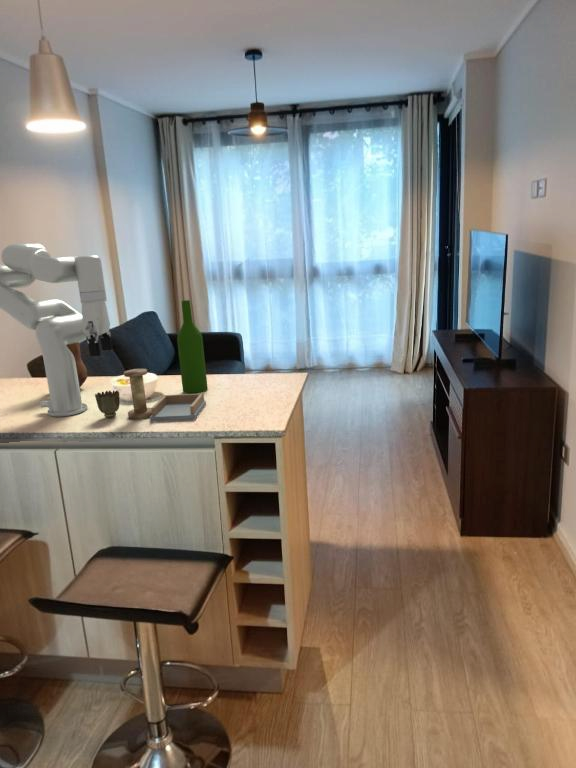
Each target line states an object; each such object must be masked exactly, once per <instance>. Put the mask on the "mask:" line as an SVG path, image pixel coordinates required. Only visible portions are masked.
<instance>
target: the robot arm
mask: <svg viewBox="0 0 576 768" xmlns="http://www.w3.org/2000/svg"><path fill="white" fill-rule="evenodd" d="M0 257H1V261H2V263H1V264H0V309H1V310H2V311H4V312H6V313H7V314H8V315H10V316H11V317H12V318H13V319H15V320H17V321H18V322H19V323H20V324H21V325H23V326H24V327H25V328H27V329H29V330H31V331H35V337H36V340H37V342H38V345H39V348H40V350H41V353H42V357H43V358H42V359H43V364H44V369H45V377H46V381H47V385H48V392H49V398H50V399H48V400H41V401H40V403H39V404H40V408H48V410H47V412H46V413H47V415H48V416H50V417H56V418H59V417H69V416H75V415H77V414H81V413H83V412H85V411H87V410H88V405H87V404H86V403H83V402H82V395H81V387H80V388H79V381H78V375H77V369H76V363H75V358H74V356H73V354H72V352H71V351H70V350H69V349H68V347H67V346H66V345H68V344H72V343H76V342H79V343H80V342H83V341H84V340H86V341H87V344H88V351H89V356H90V357H100V356H101V355H102V352H101V350H102V351H112V350H113V342H112V337H111V336H112V334H111V328H110V327H111V326H110V325H111V323H110V319H109V313H108V308H107V303H106V302H107V294H106V286H105V280H104V279H105V278H104V271H103V267H102V259H101V257H100V256H99V255H96V254H93V255H92V254H90V255H71V256H70V255H69V256H68V255H67V256H58V257H57V256H56V257H52V256H51V254H50V253H49V252H48V250H47V249H46V247H44V246H43V245H42V244H40V243H37V242H30V243H29V242H28V243H27V242H26V243H25V242H24V243H11V244H9V245H7V246H5V247H3V250H2V251H1V255H0ZM36 280H38V281H41V282H45V283H49V284H50V283H51V284H61V283H68V282H70V283H71V282H77V287H78V292H79V293H78V294H79V298H80V303H81V313H80V312H79V311H77V310H76V309H74V308H73V307H72V306H71V305H70V304H67V303H66V301H63V300H61V299H58V298H49V299H48V298H47V299H41V300H38V299H37V300H36V299H33V298H31V297H30V296H28V295H27V294H26V293H24V292H22V291H20V290H17V289H22V288H28V287H30V286H31V285H33V283H34V282H35V281H36ZM99 336H100V342H98V341H99ZM100 344H101V346H100Z"/></svg>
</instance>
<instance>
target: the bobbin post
mask: <svg viewBox="0 0 576 768" xmlns="http://www.w3.org/2000/svg"><path fill="white" fill-rule="evenodd" d="M147 374H148V369H147V368H133V369H129V370H124V372H123V377H125V378H126V377H127V378H129V383H130V390H131V391H130V392H131V399H132V405H133V409H131V410H129V411H127V418H128V420H129V419H130V420H134V421H138V420H144V419H150V416H151V415H152V410H151V408H152V407H148V406H147V399H146V391H145V385H144V383H145V382H144V376H146V375H147Z"/></svg>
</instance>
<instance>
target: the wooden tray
mask: <svg viewBox="0 0 576 768" xmlns="http://www.w3.org/2000/svg"><path fill="white" fill-rule="evenodd" d="M204 395H205V394H204V392H202V393H197V394H186V393H183V394H168V395H167V394H164V395H163V396H162V397H161V398H160V399H158V401H157V402H156V403H155V404H154V405H153V406H152V407H150V408H151V410H152V415H151V416H150V417H149V422H150V423H151V422H152V423H154V422H153V421H158V422H174V421H175V422H176V421H177V420H180V421H194V420H193V419H196V420H197V418H198V417H199V416H200V414H201V413H202V412H203V410H204V409H205V407H206V406H207V402H206V400H205V396H204ZM205 405H206V406H205ZM204 406H205V407H204ZM203 408H204V409H203ZM202 409H203V410H202ZM200 412H201V413H200ZM199 413H200V414H199ZM198 415H199V416H198ZM197 416H198V417H197ZM177 422H178V421H177Z"/></svg>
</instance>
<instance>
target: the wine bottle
mask: <svg viewBox="0 0 576 768" xmlns="http://www.w3.org/2000/svg"><path fill="white" fill-rule="evenodd" d="M191 306H192V305H191V300H189V299H188V300H182V301H181V310H182V325H181V327H180V329H179V332H178V333H177V336H176V337H177V338H176V341H177V343H176V344H177V350H178V359H179V368H180V377H181V384H182V385H181V386H182V392H183V394H186V393H187V394H195V393H197V394H201V392H202V393H204V392H207V390H208V378H207V370H206V369H207V368H206V360H205V351H204V348H205V347H204V340H203V335H202V332H201V330H200V329H199V328H198V327H197V325H196V324H195V323H194V321H193V317H192V316H193V314H192V309H191V308H192V307H191Z"/></svg>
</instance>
